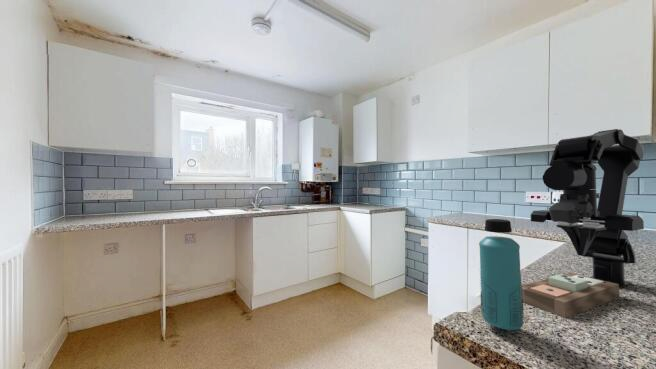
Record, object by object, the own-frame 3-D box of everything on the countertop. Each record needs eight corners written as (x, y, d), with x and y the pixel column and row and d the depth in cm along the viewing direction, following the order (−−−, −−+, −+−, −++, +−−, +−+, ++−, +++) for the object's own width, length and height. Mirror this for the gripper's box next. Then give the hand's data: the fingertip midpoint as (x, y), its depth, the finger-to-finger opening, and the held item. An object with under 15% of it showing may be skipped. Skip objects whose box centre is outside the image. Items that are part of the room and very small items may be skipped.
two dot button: (577, 285, 66) (576, 274, 66) (604, 292, 61) (603, 280, 62) (565, 288, 64) (565, 277, 64) (593, 295, 60) (592, 284, 60)
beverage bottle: (532, 341, 44) (528, 221, 44) (488, 337, 45) (485, 221, 46) (513, 321, 51) (510, 217, 51) (475, 319, 52) (472, 217, 52)
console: (570, 284, 68) (570, 272, 69) (619, 297, 60) (619, 284, 60) (516, 300, 60) (516, 286, 60) (565, 317, 52) (564, 302, 52)
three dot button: (561, 284, 63) (560, 273, 63) (588, 291, 59) (587, 280, 59) (548, 288, 61) (548, 276, 61) (575, 295, 57) (575, 283, 57)
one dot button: (543, 295, 61) (543, 283, 61) (570, 303, 56) (570, 291, 56) (530, 299, 59) (530, 287, 59) (557, 308, 54) (556, 295, 54)
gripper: (516, 190, 68) (518, 250, 68) (617, 190, 51) (620, 271, 51) (542, 189, 73) (544, 246, 72) (643, 189, 55) (646, 263, 55)
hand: (581, 255), depth 63 cm, fingers closed
